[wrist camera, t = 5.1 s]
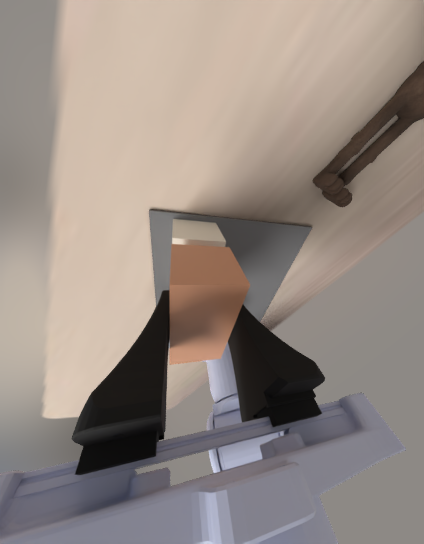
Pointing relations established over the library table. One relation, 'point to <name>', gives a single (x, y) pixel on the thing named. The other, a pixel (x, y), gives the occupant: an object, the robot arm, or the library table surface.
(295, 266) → the library table surface
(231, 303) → the terracotta brick
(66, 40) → the library table surface
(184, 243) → the cream brick
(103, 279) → the library table surface
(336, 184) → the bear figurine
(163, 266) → the charcoal mat
